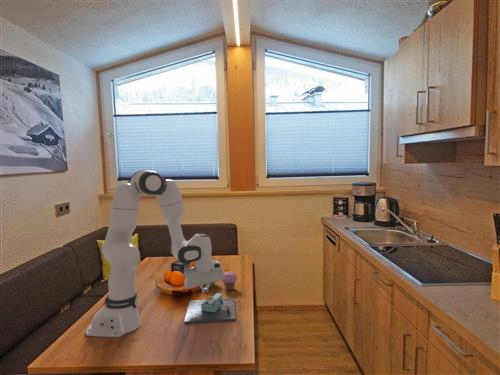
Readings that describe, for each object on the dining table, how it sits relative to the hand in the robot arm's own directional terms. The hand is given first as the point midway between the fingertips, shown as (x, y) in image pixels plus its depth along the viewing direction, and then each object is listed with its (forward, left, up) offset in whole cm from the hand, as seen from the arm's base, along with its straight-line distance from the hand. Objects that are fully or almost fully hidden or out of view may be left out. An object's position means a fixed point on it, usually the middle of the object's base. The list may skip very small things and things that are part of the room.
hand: (205, 291), depth 165 cm
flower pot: (0, +24, -7) cm, 25 cm away
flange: (+5, -5, -5) cm, 8 cm away
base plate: (+3, -9, -6) cm, 11 cm away
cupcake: (+12, +17, -7) cm, 22 cm away
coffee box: (-15, +19, -7) cm, 25 cm away
